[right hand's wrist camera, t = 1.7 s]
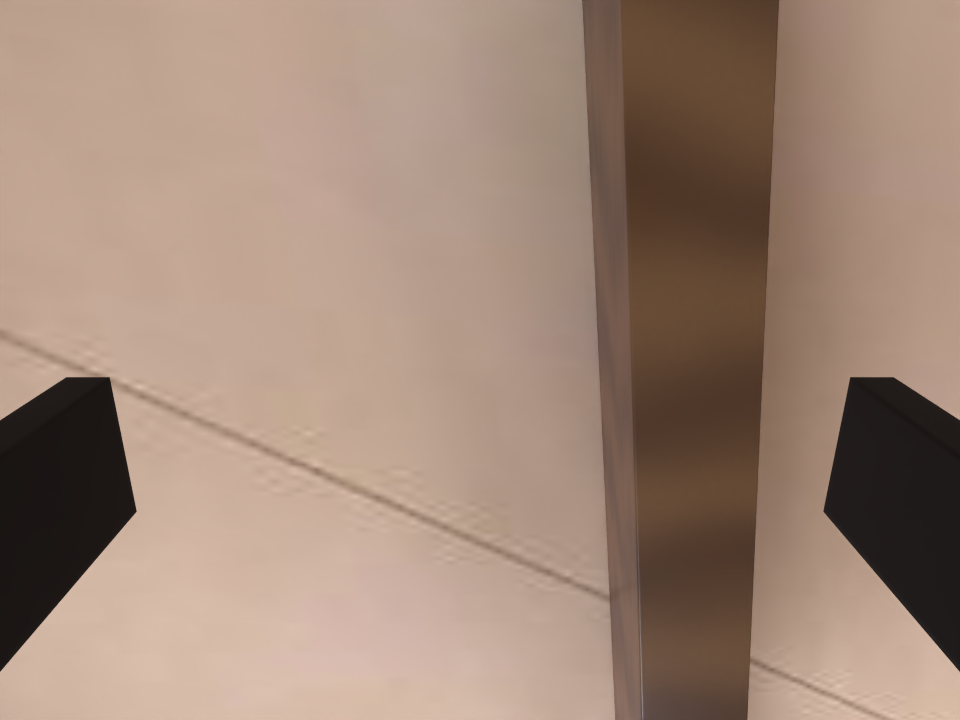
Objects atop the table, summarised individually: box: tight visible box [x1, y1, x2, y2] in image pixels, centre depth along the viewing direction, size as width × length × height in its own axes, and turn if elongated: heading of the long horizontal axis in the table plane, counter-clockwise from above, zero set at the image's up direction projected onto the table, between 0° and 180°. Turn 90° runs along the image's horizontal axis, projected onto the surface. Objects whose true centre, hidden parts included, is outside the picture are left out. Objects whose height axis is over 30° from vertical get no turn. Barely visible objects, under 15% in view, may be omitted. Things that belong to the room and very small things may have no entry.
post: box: [583, 0, 779, 720], centre depth 32 cm, size 60×4×7 cm, turn 6°
